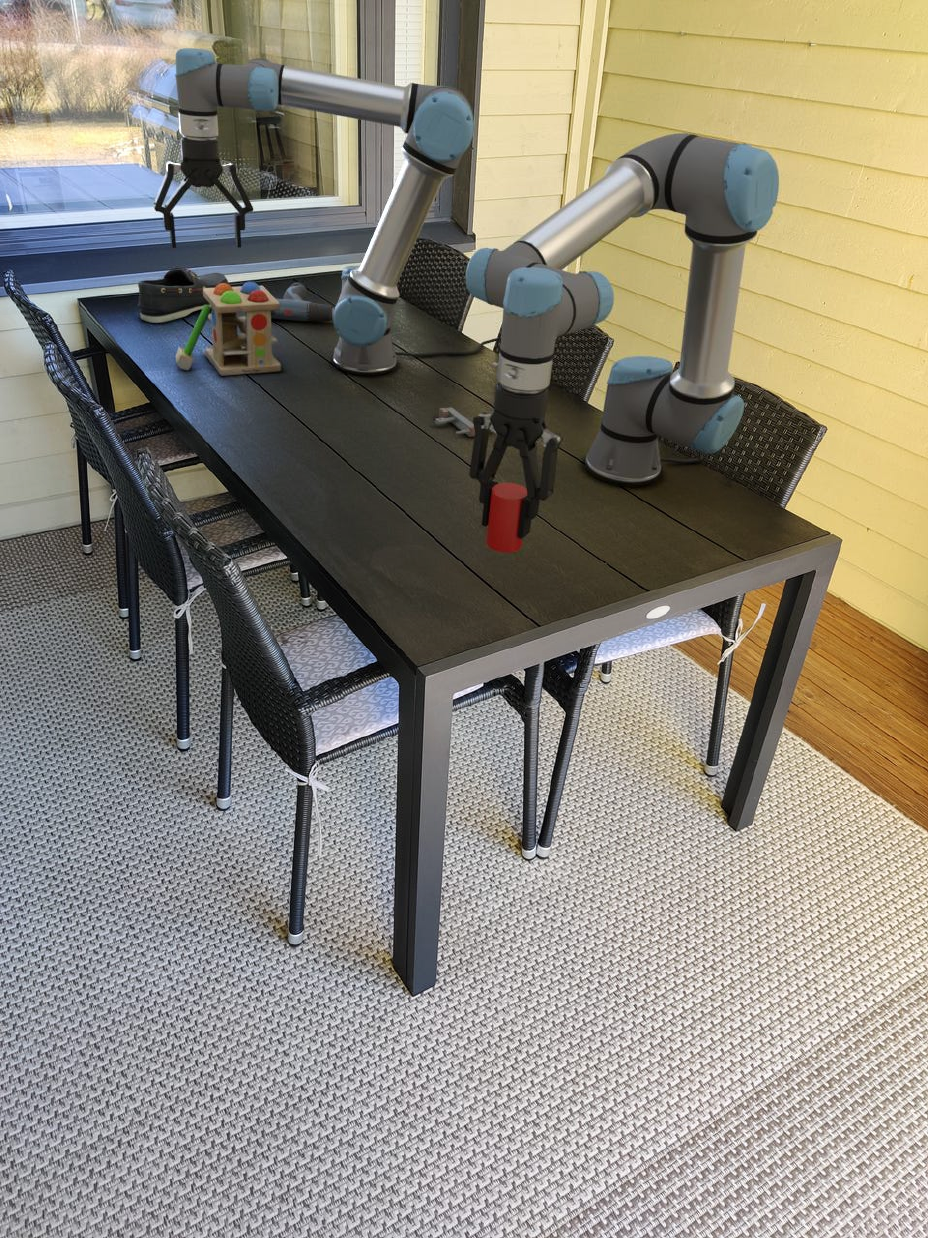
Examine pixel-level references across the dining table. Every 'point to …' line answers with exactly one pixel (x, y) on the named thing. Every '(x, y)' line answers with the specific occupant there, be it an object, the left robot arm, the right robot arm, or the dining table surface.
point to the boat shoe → (175, 294)
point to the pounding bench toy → (229, 347)
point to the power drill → (301, 307)
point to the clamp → (457, 421)
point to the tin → (505, 517)
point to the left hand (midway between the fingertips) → (206, 246)
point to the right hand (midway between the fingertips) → (505, 528)
